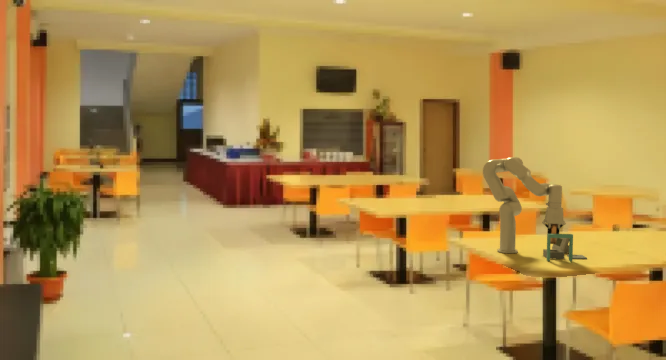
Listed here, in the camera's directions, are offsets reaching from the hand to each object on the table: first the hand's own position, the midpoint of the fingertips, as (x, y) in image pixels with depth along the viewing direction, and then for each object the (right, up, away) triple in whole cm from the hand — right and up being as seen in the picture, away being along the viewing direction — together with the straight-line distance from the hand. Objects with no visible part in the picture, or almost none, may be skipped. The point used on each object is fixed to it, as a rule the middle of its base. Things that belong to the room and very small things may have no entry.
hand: (553, 234), depth 419 cm
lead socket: (0, -14, +1) cm, 14 cm away
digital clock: (+11, -13, +19) cm, 26 cm away
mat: (+14, -14, 0) cm, 20 cm away
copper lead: (0, -5, 0) cm, 5 cm away
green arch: (0, -15, -12) cm, 19 cm away
